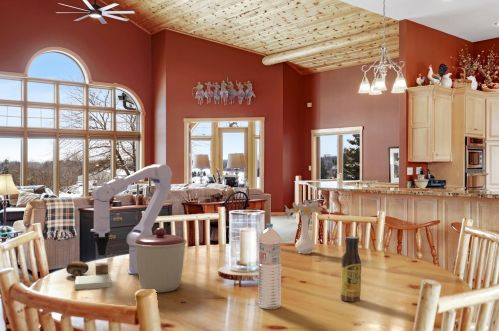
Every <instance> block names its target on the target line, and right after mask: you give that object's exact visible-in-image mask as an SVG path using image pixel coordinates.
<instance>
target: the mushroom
mask: <svg viewBox="0 0 499 331" xmlns="http://www.w3.org/2000/svg"><path fill="white" fill-rule="evenodd" d="M65 271H66V273H67V274H69V275H72V276H74V277H76V276H81V275H83V274H84V275H85V274H86V273H87V272H89V265H88V264H87V263H85V262H84V261H80V260H75V261H71V262H69V263H68V264H67V265H66V269H65Z"/></svg>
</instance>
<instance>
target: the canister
mask: <svg viewBox="0 0 499 331" xmlns="http://www.w3.org/2000/svg"><path fill="white" fill-rule="evenodd" d="M187 243H188V240H187V239H186V238H184V237H182V236H179V235H176V234H166V229H165V228H164V227H158V228H156V229H155V231H154V234H152V235H149V236H144V237H140V238H138V239H137V240H136V241H134V242H133V244H134V245H135V248H136V258H137V267H138V274H137V275H138V281H139V284H140V287H141V289H142V290H143V289H155V290H156V291H157V293H156V294H158V293H159V294H160V293H168V292H173V291H176V290H177V289H178V288H179V287H180V284H181V280H182V275H183V274H182V273H183V266H184V257H185V248H186V246H185V245H186V244H187Z"/></svg>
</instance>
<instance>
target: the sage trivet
mask: <svg viewBox="0 0 499 331" xmlns="http://www.w3.org/2000/svg"><path fill="white" fill-rule="evenodd" d="M102 288H112V277H111V273H108V274H105V275H96V274H94V275H93V274H91V275H80V276H75V280H74V290H87V289H89V290H90V289H102Z"/></svg>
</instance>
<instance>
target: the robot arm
mask: <svg viewBox="0 0 499 331" xmlns="http://www.w3.org/2000/svg"><path fill="white" fill-rule="evenodd" d="M173 175H174V174H173V172H172V170H171V168H170V166H169V165H167V164H156V163H153V164H150V165H148V166H145V167H144V168H141V169H139V170H137V171H136V172H133V173H132V174H130V175H127V176H126V177H123V176H115V177H114V178H113V179H111V180H110V181H108V182H105V181H104V182H103V184H102V185H97V186H95V187H94V188H93V189H92V190H91V193H90V194H91V197H92V199H93V228H91V229H90V232H94V234H93V235H94V236H93V240H94V241H95V243H96V247H97V248H96V249H97V254H98V256H105V255H106V252H107V245H108V242H109V240H110V237H111V236H109V235H110V232H111V228H110V227H111V226H110V208H111V207H110V200H111V199H112V197H115V196H117V195H119V194H122V193H124V192H125V191H127V190H128V188H129V186H130V185H132V184H134V183H137V182H139V181H142V180H144V179H147V178H149V179H150V180H151V181H152V183H153V184H154V186H155V191H154V193H153V194H152V197H151V199H150V201H149V203H148V205H147V207H146V209H145V211H144V212H143V214H142V217H141V219H140V221H139V223H138V224H137V225H135V226H134V227H133V228H132V230H131V231H130V232H129V233H128V234H127V237H126V243H127V244H128V246H129V248H128V255H129V256H128V263H129V264H128V268H127V272H128V275H134V274H135V275H136V274H137V275H138V267H137V258H136V248H135V245H134V244H133V242H134V241H136V240H137V239H138V238H140V237H144V236H149V235H153V231H152V229H153V226H154V225H155V222H156V221H157V218H158V216H159V214H160V212H161V211H162V208H163V207H164V204H165V202H166V200H167V198H168V196H169V194H170V191H171V188H172V186H171V185H172V177H173Z"/></svg>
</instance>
